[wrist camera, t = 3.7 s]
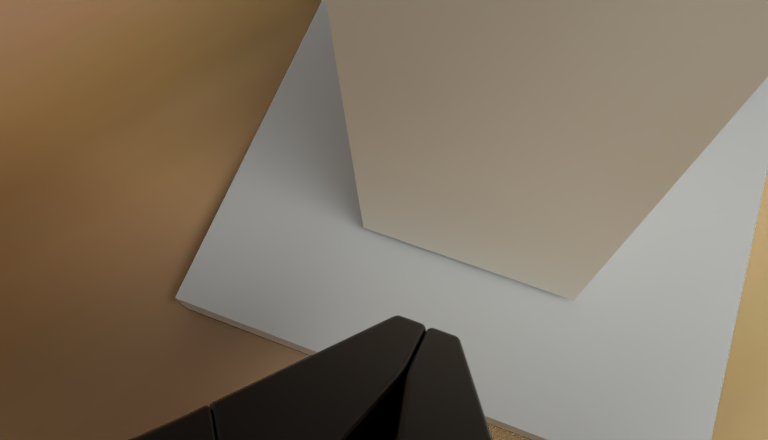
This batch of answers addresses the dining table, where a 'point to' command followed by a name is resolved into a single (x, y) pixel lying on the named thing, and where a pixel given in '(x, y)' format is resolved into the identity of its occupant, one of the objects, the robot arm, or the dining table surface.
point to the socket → (490, 277)
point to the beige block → (535, 119)
